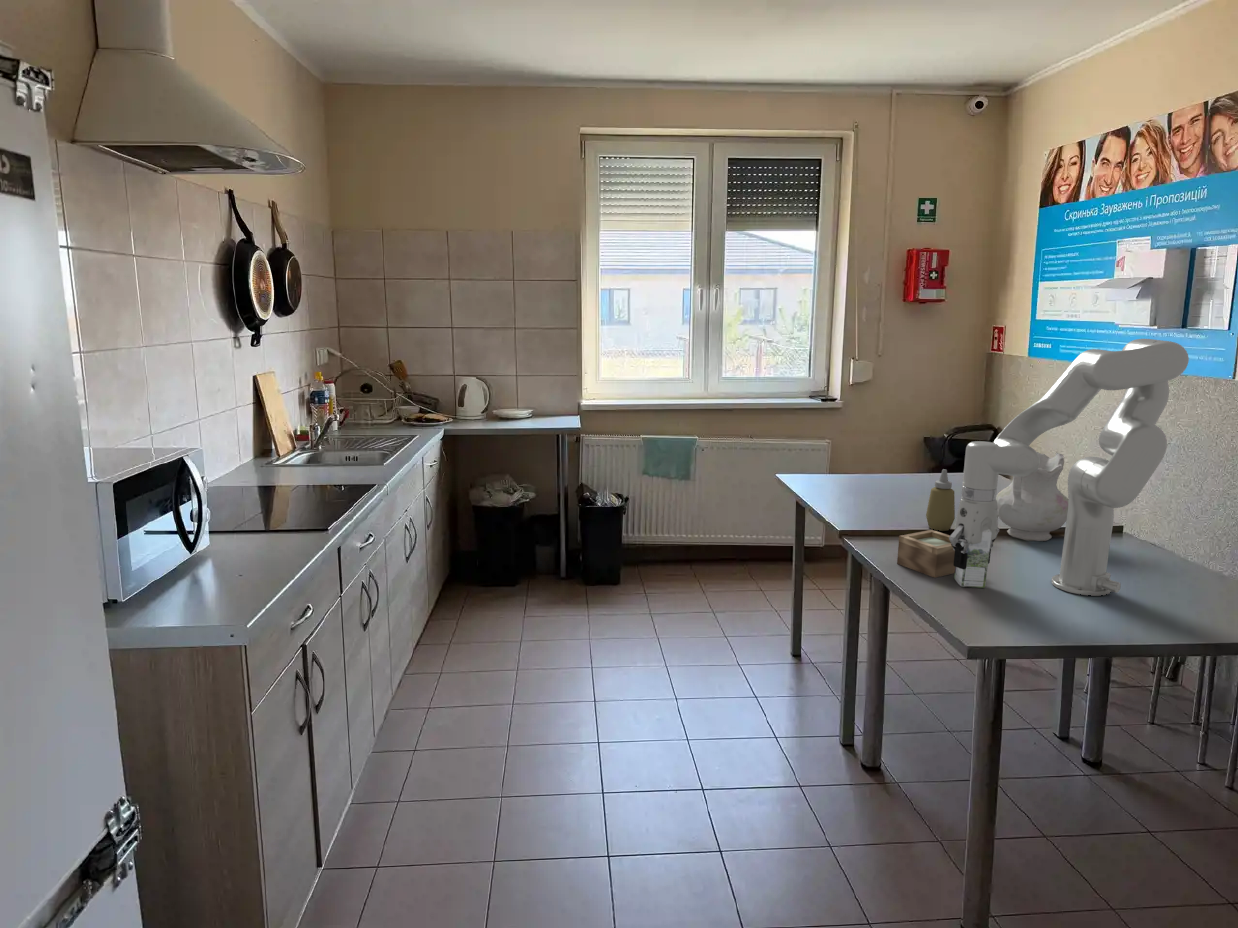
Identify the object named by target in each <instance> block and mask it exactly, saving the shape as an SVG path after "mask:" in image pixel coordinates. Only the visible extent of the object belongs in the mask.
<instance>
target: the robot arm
mask: <svg viewBox="0 0 1238 928" xmlns="http://www.w3.org/2000/svg"><path fill="white" fill-rule="evenodd" d="M1189 359H1190V358H1189V353H1188V351H1187V350H1186V348H1185V347H1184V346H1182V345H1181V344H1179V343H1177V342H1174V341H1170V340H1161V339H1153V338H1137V339H1133V340H1131V341H1129V342H1127V343H1126V344H1125V345H1124V347H1122V349H1121V350H1118V351H1116V350H1115V351H1113V350H1105V349H1096V348H1092V349H1087V350H1085V351H1083V352H1081V353H1080V354H1079V355H1077V357H1076V358H1075V359H1074V360H1073V361H1071V363H1070V364H1069V365H1068V367H1067V368H1065V370H1064V372H1062V374H1061V375H1060V376H1059V377H1058V378H1057V380H1056V381H1055V382H1054V383H1053V385H1051V387H1050V388H1049V389H1048V390H1047V391H1046V393H1045V394H1044V395H1043V396H1042V397H1041V398H1040V399H1038V400H1037V401H1036V402H1034V403H1033V404H1031V405H1030V406H1029V407H1027V408H1026V409H1024V410H1023V411H1022V412H1020V413H1019V414H1017V415H1016V416H1015V417H1014V418H1013V419H1012V420H1011V421H1010V422H1009V423H1008V424H1007V425H1006V426H1005V427H1004V428H1003V429H1002V431H1001V432H1000V433H999V434H998V435H997V436H996V438H995V439H994V441H992V442H991V441H981V440H979V441H978V440H977V441H976V440H975V441H971V442H969V443H967V445H966V447H965V453H964V454H965V455H964V466H963V475H962V486H961V496H960V501H959V504H958V508H957V513H956V516H955V518H956V519H955V524H954V526H955V527H954V531H953V532H952V533H951V534H950V537H949V540H950V542H951V545H952V547H953V550H954V551H955V554H954V564H953V565H954V566H955V567H958V568H960V569H963V570H964V569H966V566H967V556H968V553H966V551H967V549H968V547H969V545H970V544H977V543H980V542H981V540H982V532H984V530H987V529H990V531H991V532H992V535H991V543H990V551H989V559H988V565H989V564H990V563H991V562H990V561H991V552H992V548H993V547H994V542H995V540H996V539H997V536H998V534H999V532H1000V528H999V517H998V504H997V500H996V496H997V494H998V493H997V492H998V483H999V475H1005V476H1010V477H1013V476H1017V477H1024V476H1028V475H1031V474H1033V473H1034V472H1035V471H1036V470H1037V469H1038V467H1039V465H1040V457H1039V455H1038V453H1037V452H1038V451H1036V450H1035V448H1033V447H1032V446H1030V445H1031V444H1032V443H1033V442H1034V441H1035V440H1036V439H1037V438H1039V437H1040V436H1041V435H1042V434H1044V433H1046V432H1047V431H1050V430H1052V429H1054V428H1057V427H1062V426H1064V425H1068V424H1070V423H1072V422H1073V421H1075V420H1076V419H1077V418H1078V417H1079V416H1080V414H1081V413H1083V411H1084V410H1085V409H1086V407H1087V406H1088V405H1089V404H1090V403H1091V402H1092V400H1094V399H1095V397H1096V396H1097V395H1098V394H1099V392H1100V391H1102V390H1104V391H1121V390H1125V391H1124V394H1123V396H1122V398H1121V400H1120V401H1119V403H1118V404H1117V406H1116V408H1115V410H1114V411H1113V412H1112V414H1111V415H1110V417H1109V419H1108V420H1107V422H1106V423H1105V424H1104V427H1103V428H1102V430H1101V431H1100V433H1099V436H1098V444H1099V446H1100V448H1101V450H1102V451H1103V452H1105V454H1108V455H1110V456H1111V457H1110V459H1109V460H1107V459H1106V458H1103V457H1099V456H1086V457H1081V458H1080V459H1079V460H1077V461H1076V462H1074V464H1073V465H1072V466H1071V467H1070V469H1069V472H1068V474H1067V475H1068V476H1067V494H1068V495H1067V496H1068V497H1067V498H1068V513H1067V521H1066V522H1065V528H1064V529H1065V530H1064V538H1063V546H1062V551H1061V552H1062V554H1061V559H1060V570H1059V573H1058V574H1055V575H1053V576H1051V580H1050V582H1051V584H1052V585H1053V586H1054V587H1055V588H1057V589H1059V590H1062V591H1064V592H1067V593H1070V594H1071V593H1072V594H1075V595H1080V594H1081V595H1082V596H1088V595H1091V596H1090V597H1100V596H1101V595H1103V596H1107V595H1109V594H1111V593H1112V592H1113V593H1116V594H1117V593H1119V592H1120V590H1121V586H1122V585H1121V582H1119V581H1116V580H1112V579H1111V575H1112V574H1111V572H1107V570H1108V569H1107V568H1108V561H1109V553H1110V548H1111V540H1112V532H1113V526H1114V518H1115V509H1119V508H1124V507H1125V506H1128V505H1129V504H1131V503H1133V502H1134V500H1135V499H1136V498H1137V497H1138V496H1139V495H1140V493H1141V492H1142V490H1143V489H1144V488H1145V486H1146V485H1147V484H1148V482H1149V480H1150V479H1151V477H1152V476H1153V474H1154V473H1155V471H1156V470H1157V468H1158V467H1159V465H1160V464H1161V462H1162V460H1163V459H1164V457H1165V455H1166V452H1167V447H1168V440H1167V436H1166V433H1165V432H1164V431H1163V429H1161V428H1160V427H1159V426H1157V425H1156V424H1157V423H1158V420H1159V419H1160V417H1161V415H1162V413H1163V412H1164V410H1165V408H1166V406H1167V403H1168V401H1169V396H1170V395H1169V394H1170V386H1169V385H1170V384H1169V381H1172V380H1174V379H1176V378H1178V377H1179V376H1181V375H1182V374H1183V373H1184V372H1185V371H1186V369H1187V367H1188V365H1189ZM963 537H965V540H964V539H963ZM961 542H963V543H964V545H963V547H962V545H961ZM1110 592H1111V593H1110ZM1106 594H1107V595H1106ZM1081 595H1080V596H1081ZM1101 597H1102V596H1101Z"/></svg>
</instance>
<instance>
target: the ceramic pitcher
mask: <svg viewBox="0 0 1238 928" xmlns="http://www.w3.org/2000/svg"><path fill="white" fill-rule="evenodd" d="M1036 452H1037V453H1038V455H1039V457H1040V465H1039V467H1038V469H1037V470H1036V471H1035V472H1034V473H1033V474H1031V475H1028V476H1024V477H1017V476H1012V482H1010V484H1009V485H1008V486H1007V487H1004V488H1003V489H1002V490H1000V491H999V492H998V493H997V494H996V500H997V504H998V519H999V520H1000V521H1001V522H1002V523H1003V524H1004V525H1006V526H1008V527H1010V528H1009V529H1008V530H1006V532H1007V534H1008V535H1009V536H1011V537H1012V538H1016V539H1019V540H1023V541H1038V542H1046V541H1049V540H1050V539H1052V537H1053V535H1052V534H1050V532H1053V531H1056V530H1058V529H1060V528H1061V527H1063V526H1064V524H1066V521H1067V513H1068V497H1067V496H1066V495H1065V494H1064V493H1063V492H1061V491H1060V489H1058V486H1057V484H1058V480H1059V477H1060V475H1061V473H1062V472H1063V470H1064V465H1065V458H1066V457H1065V456H1064V454H1062V453H1059V452H1056V453H1055V456H1053V457H1049V456H1048V455H1046V454H1045V453H1041V452H1039V451H1036Z"/></svg>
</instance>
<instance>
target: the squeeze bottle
mask: <svg viewBox="0 0 1238 928" xmlns="http://www.w3.org/2000/svg"><path fill="white" fill-rule="evenodd" d="M952 485H953V482H951V481H950V480H949V476H948V470H947V469H944V468H943V469H942V470H941V473H940V476H939V479H937V480H935V482H934V487H932V488H931V489H930V492H929V498H928V503H927V507H926V508H927V509H926V514H925V517H926V518H925V519H926V521H927V525H928V529H930V528H931V529H930V530H933V529H934V531H938V530H939V531H938V532H945V531H946V532H947V531H950V530H951V528H952V526H953V523H954V521H955V520H956V519H955V518H956V515H955V513H956V511H955V509H956V508H955V507H956V505H955V502H956V501H955V490H954V489H952ZM949 529H950V530H949Z"/></svg>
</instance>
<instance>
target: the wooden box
mask: <svg viewBox="0 0 1238 928" xmlns="http://www.w3.org/2000/svg"><path fill="white" fill-rule="evenodd" d="M950 535H951V534H950ZM950 535H949V534H947V533H943V532H941V531H938V530H933V529H928V530H923V531H918V532H913V533H912V532H911V533H908V534H907V533H906V534H904V535H903V534H902V535H899V536H898V548H897V558H896V559H897V560H896V564H897V565H900V566H902V567H905V568H908V569H910V570H912V571H916V572H918V573H921V574H924V575H926V576H928V577H931V578H940V577H944V576H948V575H952V574H953V575H954V574H955V566H954V565H953V564H954V554H955V551H954V550H953V547H952V545H951V542H950V540H949V537H950Z"/></svg>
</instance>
